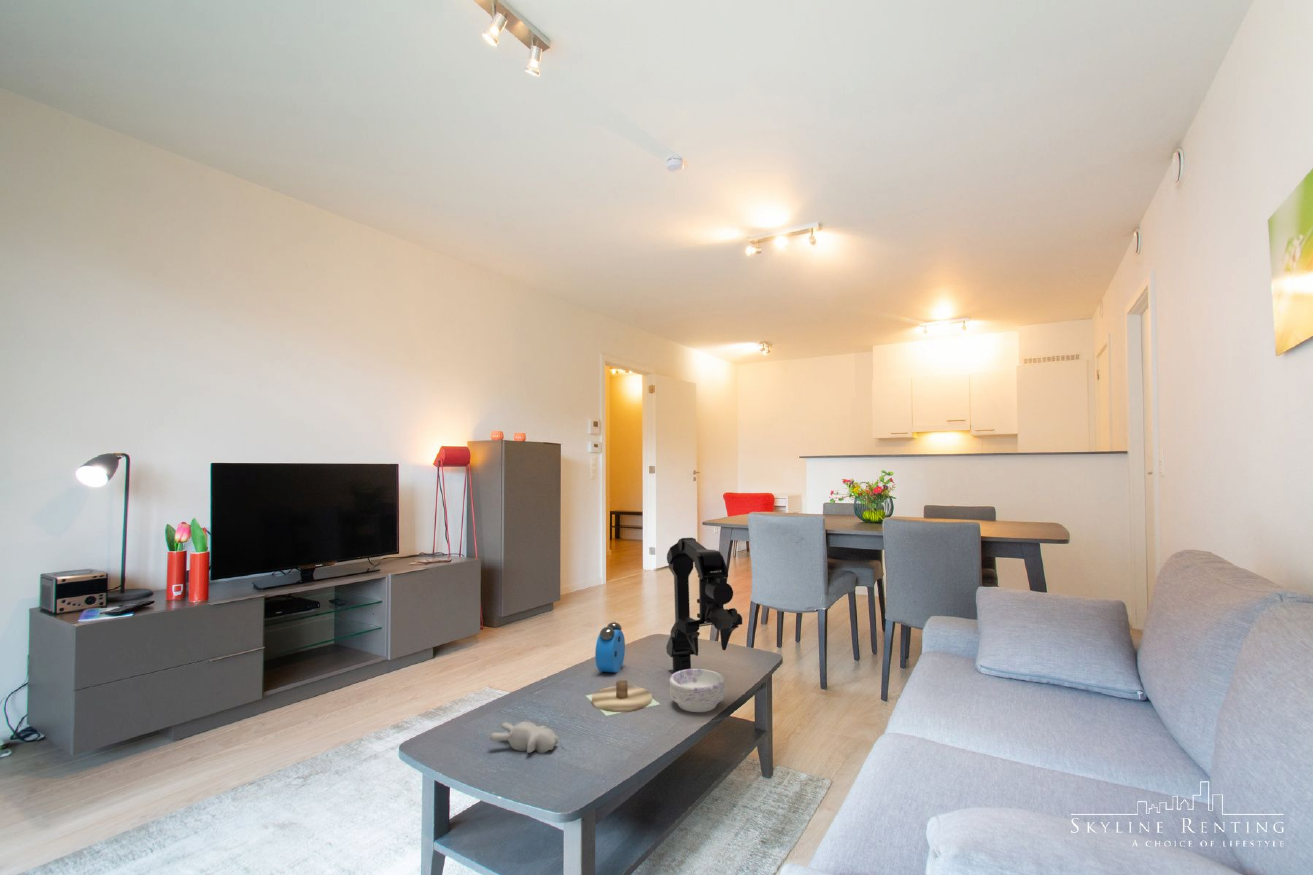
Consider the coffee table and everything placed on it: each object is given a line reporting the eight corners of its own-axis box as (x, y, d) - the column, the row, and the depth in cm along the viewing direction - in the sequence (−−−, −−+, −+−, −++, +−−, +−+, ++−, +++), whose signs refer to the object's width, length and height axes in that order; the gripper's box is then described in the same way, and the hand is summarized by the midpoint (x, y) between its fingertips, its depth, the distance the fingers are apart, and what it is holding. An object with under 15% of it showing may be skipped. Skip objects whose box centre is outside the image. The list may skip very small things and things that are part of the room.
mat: (585, 697, 172) (585, 695, 172) (635, 687, 179) (635, 685, 179) (606, 717, 158) (606, 715, 158) (660, 706, 165) (660, 704, 165)
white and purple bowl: (705, 723, 154) (705, 691, 154) (658, 709, 163) (658, 679, 163) (735, 704, 166) (734, 674, 166) (690, 692, 175) (689, 664, 176)
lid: (583, 695, 172) (583, 677, 172) (636, 684, 180) (636, 668, 180) (605, 716, 157) (605, 697, 157) (662, 704, 165) (662, 686, 165)
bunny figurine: (548, 741, 136) (488, 728, 139) (546, 764, 136) (486, 750, 139) (563, 724, 145) (506, 712, 148) (561, 745, 145) (504, 732, 148)
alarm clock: (608, 664, 201) (608, 619, 202) (626, 665, 199) (625, 620, 200) (594, 677, 188) (594, 629, 189) (613, 679, 187) (613, 630, 187)
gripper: (696, 606, 156) (697, 667, 155) (753, 598, 165) (754, 655, 164) (675, 598, 166) (675, 654, 165) (730, 590, 175) (731, 644, 174)
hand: (710, 652), depth 167 cm, fingers open, 9 cm apart
